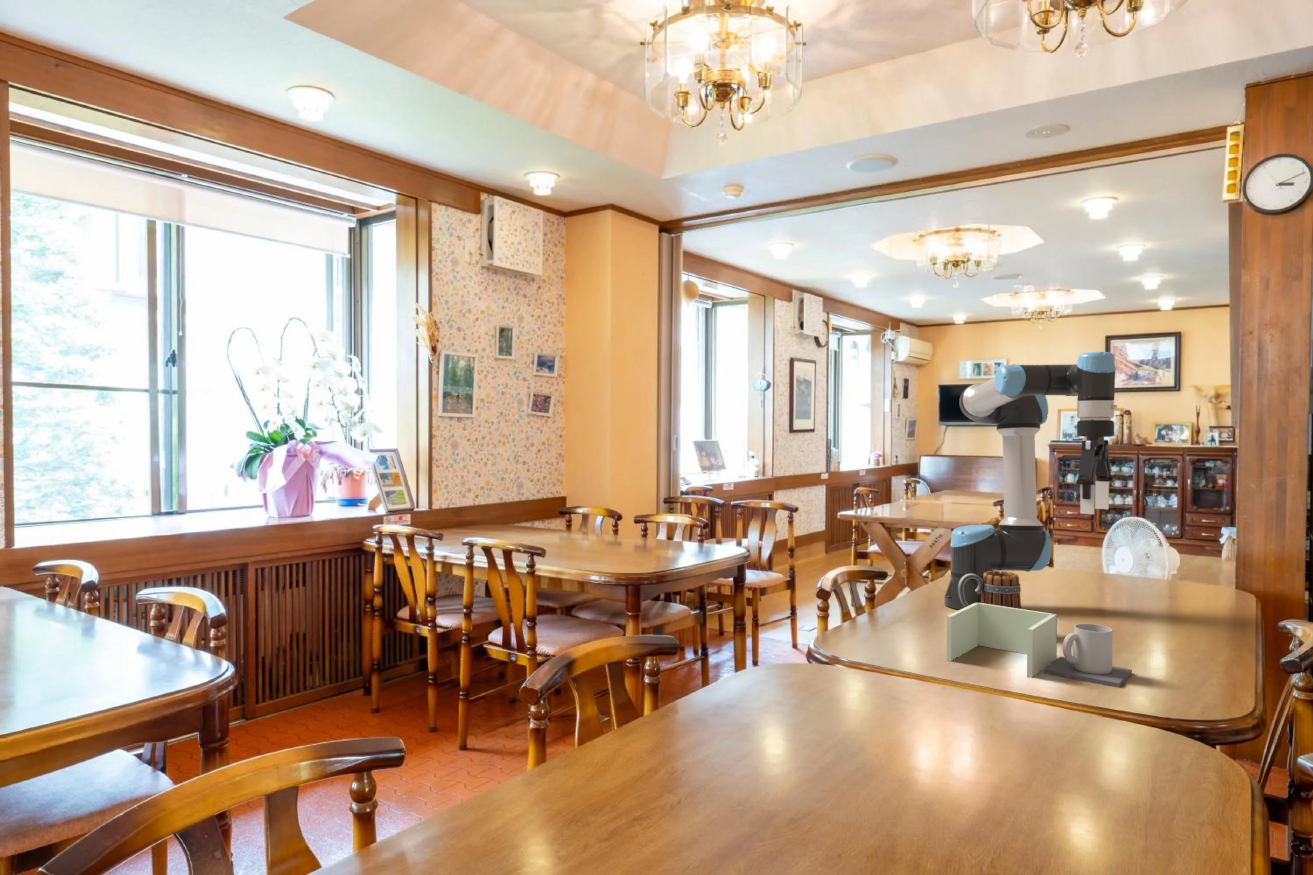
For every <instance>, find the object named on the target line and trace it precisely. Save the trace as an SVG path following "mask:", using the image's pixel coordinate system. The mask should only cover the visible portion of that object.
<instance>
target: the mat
mask: <svg viewBox="0 0 1313 875" xmlns="http://www.w3.org/2000/svg"><path fill="white" fill-rule="evenodd" d="M1043 670H1044V672H1043V673H1044V674H1048V675H1053V676H1058V677H1059V676H1060V677H1064V678H1069V679H1074V680H1080V681H1085V682H1089V683H1095V684H1100V685H1104V686H1105V685H1106V686H1108V687H1109V686H1110V687H1115V688H1121V686H1122V685H1123V684H1124V683H1125V682H1126V681H1127V679H1128V678H1130V676H1131V675H1132V674H1133V669H1130V668H1124V667H1119V666H1114V665H1112V671H1111V672H1110V673H1109V674H1104V675H1098V674H1090V673H1085V672H1081V671H1079V670H1077V669H1075V667H1074V665H1073V664H1071V663H1069V662H1068V661H1067V660H1066V659H1065V657H1064V656H1059V657H1058V658H1057V659H1055V660H1054V661H1053V662H1051V663H1050V664H1049V665H1048V666H1046V667H1045V668H1044V669H1043Z"/></svg>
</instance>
